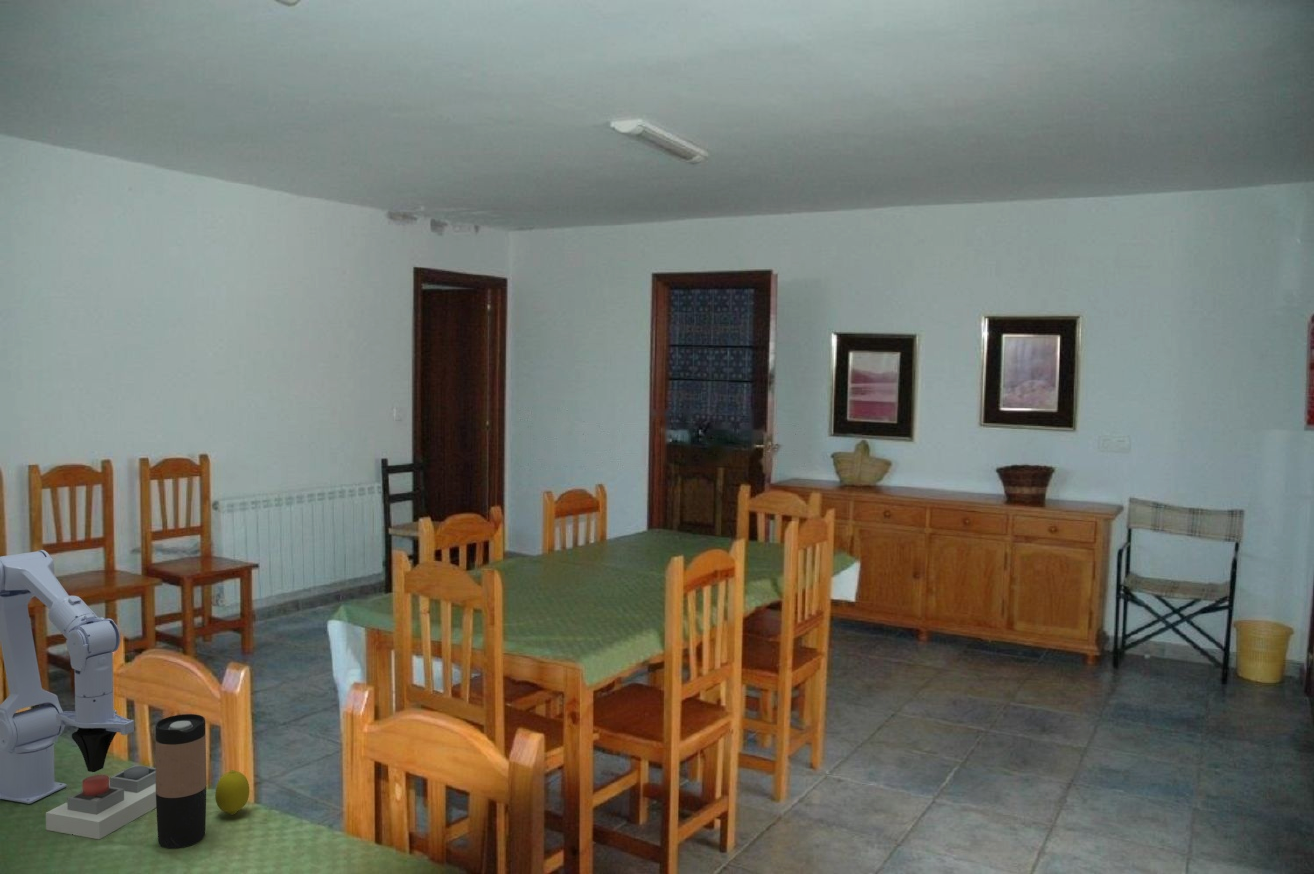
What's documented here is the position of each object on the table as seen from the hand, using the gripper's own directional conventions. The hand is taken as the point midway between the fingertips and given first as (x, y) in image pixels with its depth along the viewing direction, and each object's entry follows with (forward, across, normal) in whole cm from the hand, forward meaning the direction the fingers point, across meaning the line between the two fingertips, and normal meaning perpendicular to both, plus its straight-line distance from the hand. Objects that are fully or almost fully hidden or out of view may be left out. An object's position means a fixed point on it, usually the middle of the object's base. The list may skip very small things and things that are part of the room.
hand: (95, 769), depth 170 cm
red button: (+4, 0, 0) cm, 4 cm away
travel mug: (+9, -18, 0) cm, 20 cm away
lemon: (+10, -20, -10) cm, 24 cm away
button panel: (+9, 0, -4) cm, 10 cm away
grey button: (+6, 0, -9) cm, 11 cm away
